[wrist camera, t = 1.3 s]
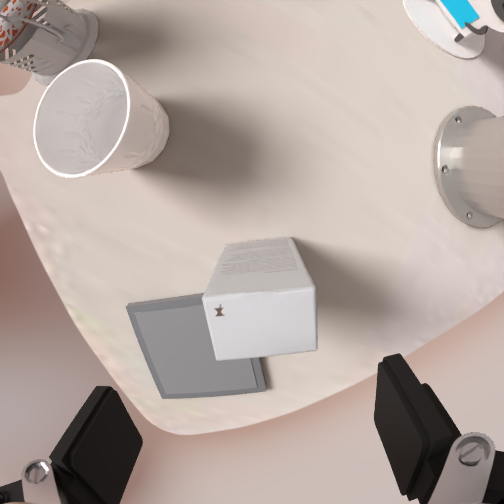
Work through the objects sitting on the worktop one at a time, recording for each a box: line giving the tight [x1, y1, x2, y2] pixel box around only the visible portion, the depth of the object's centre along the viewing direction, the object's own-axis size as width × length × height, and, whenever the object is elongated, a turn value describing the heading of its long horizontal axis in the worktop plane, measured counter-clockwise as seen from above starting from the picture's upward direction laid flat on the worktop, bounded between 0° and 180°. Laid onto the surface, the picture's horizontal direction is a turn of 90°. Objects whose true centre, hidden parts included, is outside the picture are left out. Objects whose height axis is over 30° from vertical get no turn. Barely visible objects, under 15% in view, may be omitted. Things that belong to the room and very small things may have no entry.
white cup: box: [34, 59, 170, 178], centre depth 20 cm, size 8×8×10 cm
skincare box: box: [202, 237, 318, 361], centre depth 22 cm, size 6×4×12 cm
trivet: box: [126, 293, 266, 399], centre depth 30 cm, size 12×12×1 cm
